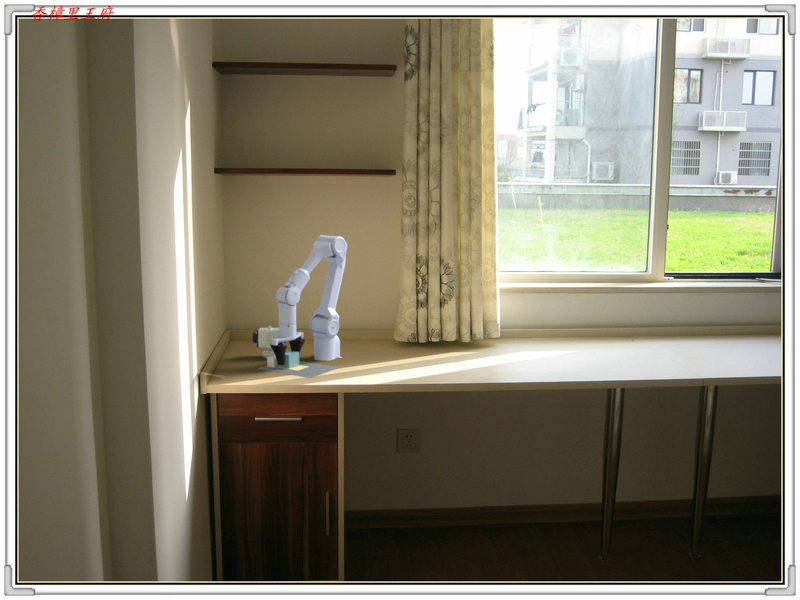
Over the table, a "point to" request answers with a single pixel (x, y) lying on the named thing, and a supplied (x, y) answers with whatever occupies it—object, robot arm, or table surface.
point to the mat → (302, 369)
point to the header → (272, 362)
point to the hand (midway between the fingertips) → (288, 362)
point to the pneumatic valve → (265, 339)
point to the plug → (290, 359)
